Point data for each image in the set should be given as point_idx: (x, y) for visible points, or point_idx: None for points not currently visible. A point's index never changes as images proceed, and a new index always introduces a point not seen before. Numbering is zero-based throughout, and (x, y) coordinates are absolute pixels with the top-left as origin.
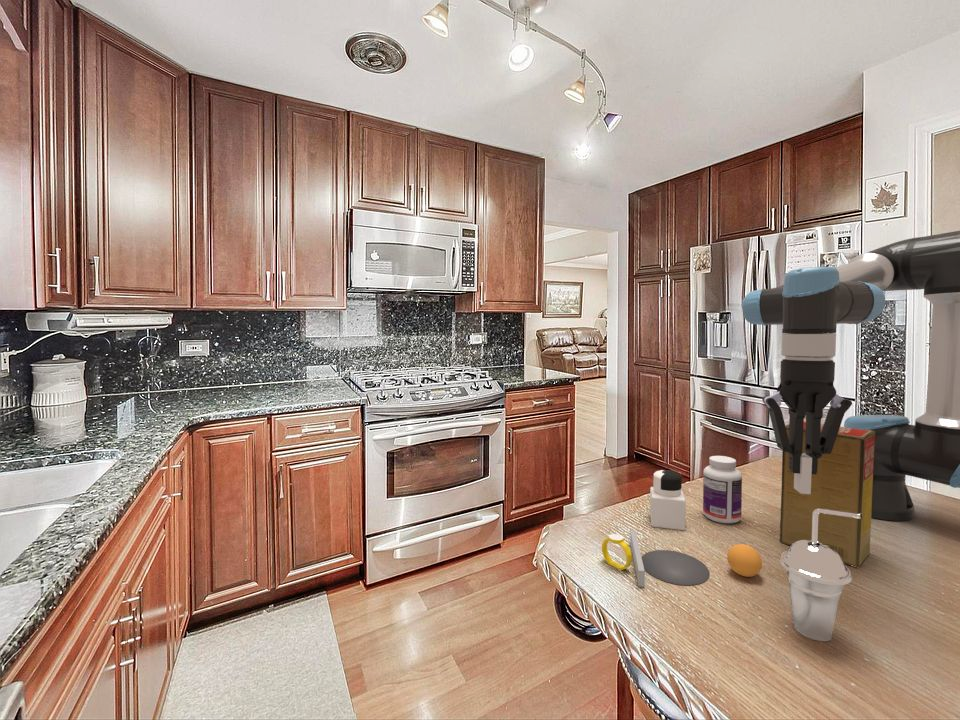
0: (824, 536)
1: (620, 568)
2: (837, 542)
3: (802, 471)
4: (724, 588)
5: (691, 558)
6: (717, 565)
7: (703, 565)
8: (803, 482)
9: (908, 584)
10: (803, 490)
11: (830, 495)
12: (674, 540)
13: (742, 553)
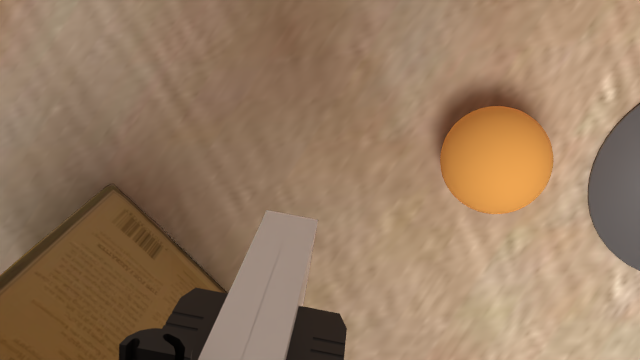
0: (149, 275)
1: None
2: (125, 246)
3: (293, 296)
4: (603, 62)
5: (612, 228)
6: (541, 194)
7: (596, 188)
8: (295, 252)
9: (23, 103)
10: (301, 227)
11: None
12: (597, 339)
13: (530, 145)
